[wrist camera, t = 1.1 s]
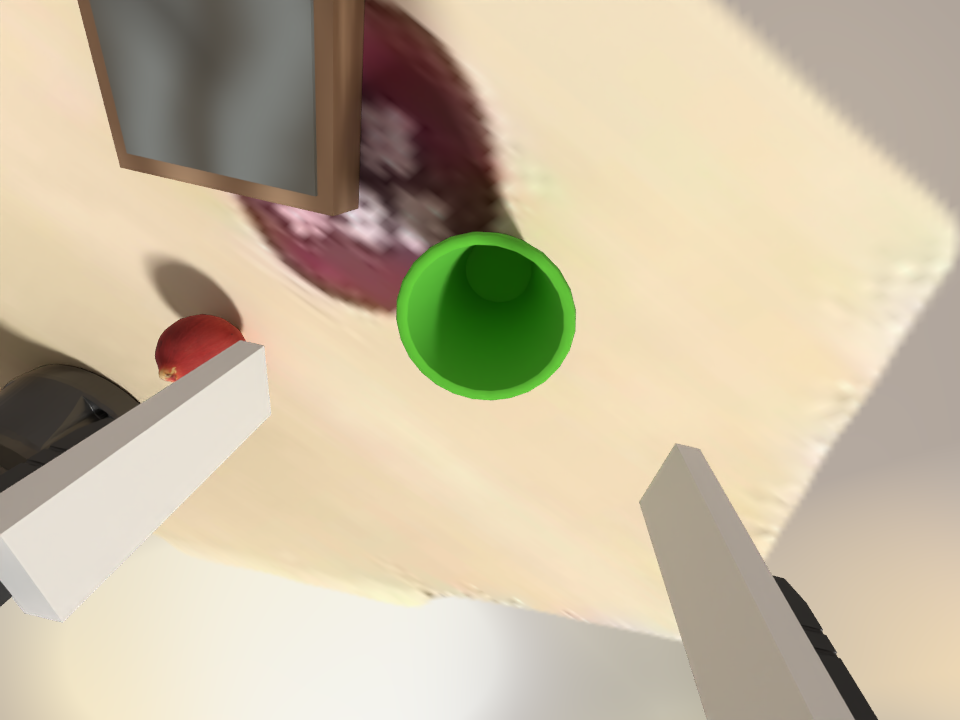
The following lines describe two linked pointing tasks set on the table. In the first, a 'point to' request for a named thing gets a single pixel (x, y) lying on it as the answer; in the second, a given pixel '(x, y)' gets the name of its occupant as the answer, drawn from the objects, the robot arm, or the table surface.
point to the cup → (486, 315)
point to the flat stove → (236, 94)
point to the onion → (193, 344)
